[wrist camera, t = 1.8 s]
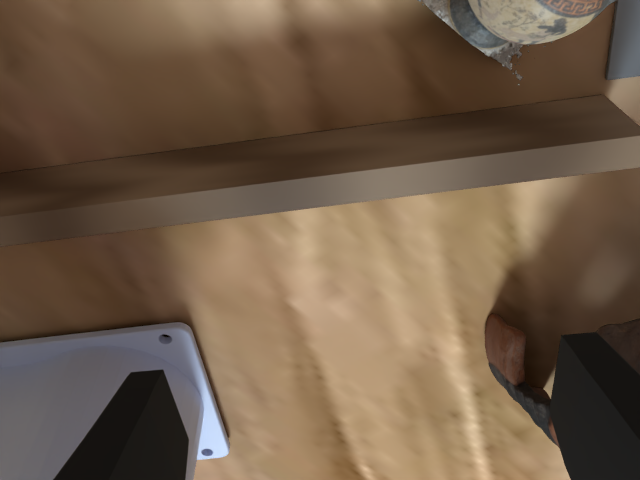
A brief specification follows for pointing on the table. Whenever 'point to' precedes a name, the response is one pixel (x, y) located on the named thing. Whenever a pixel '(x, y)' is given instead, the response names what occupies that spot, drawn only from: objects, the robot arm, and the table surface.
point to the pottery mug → (508, 363)
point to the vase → (514, 22)
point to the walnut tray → (318, 169)
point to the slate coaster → (624, 41)
